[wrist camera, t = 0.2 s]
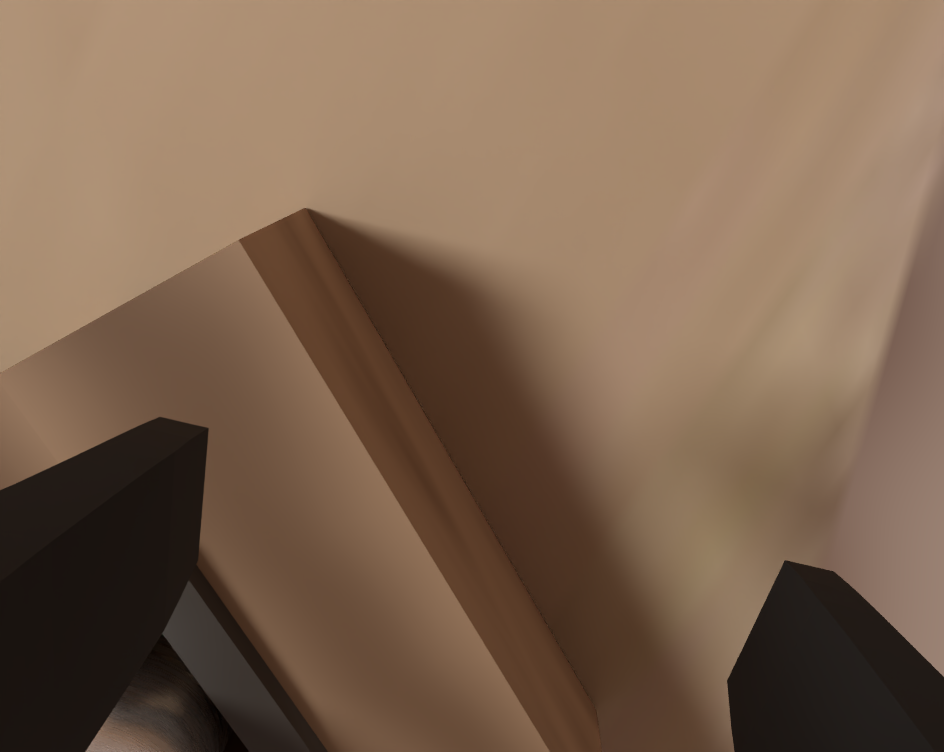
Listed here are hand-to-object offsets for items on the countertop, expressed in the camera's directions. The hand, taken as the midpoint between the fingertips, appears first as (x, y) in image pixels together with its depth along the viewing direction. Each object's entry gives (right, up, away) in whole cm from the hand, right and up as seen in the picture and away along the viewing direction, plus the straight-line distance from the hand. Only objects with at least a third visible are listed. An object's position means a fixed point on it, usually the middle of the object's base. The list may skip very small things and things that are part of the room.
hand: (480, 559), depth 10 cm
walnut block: (-7, -4, +13) cm, 15 cm away
